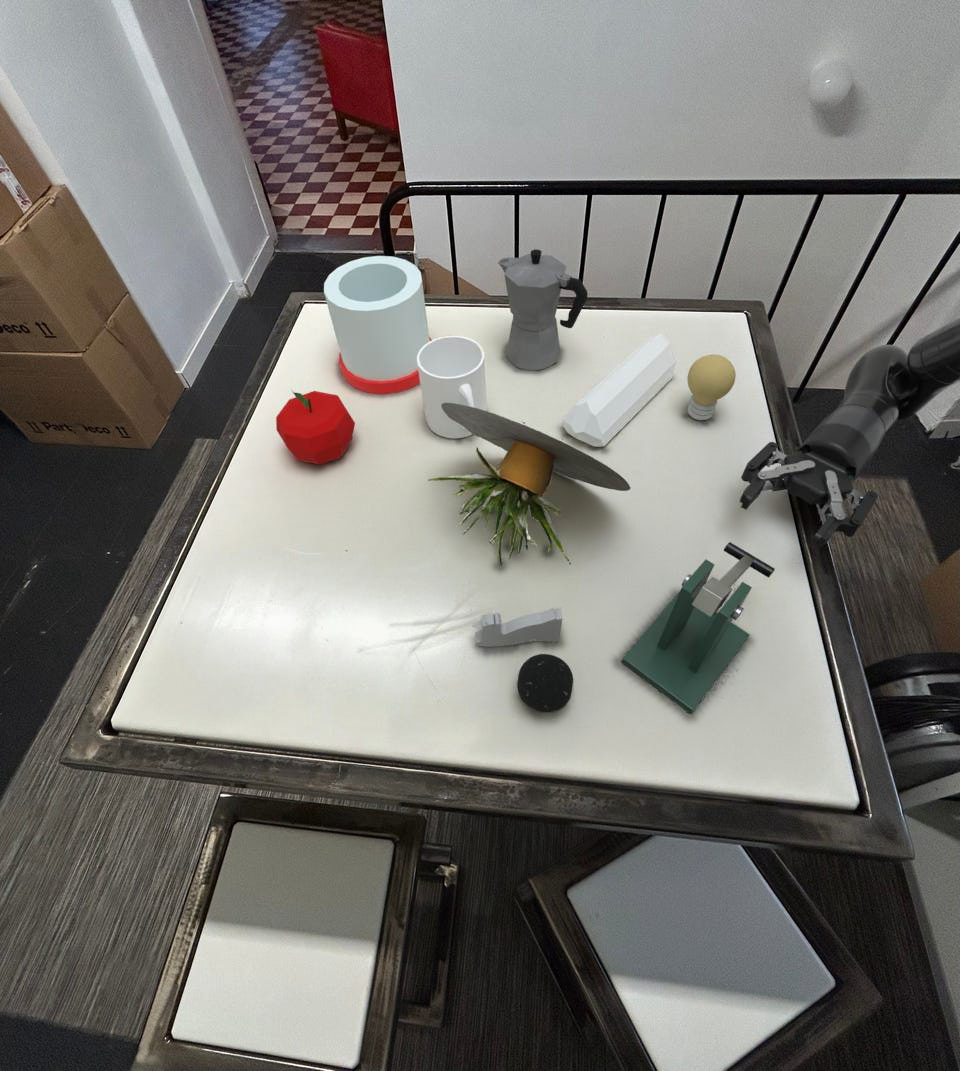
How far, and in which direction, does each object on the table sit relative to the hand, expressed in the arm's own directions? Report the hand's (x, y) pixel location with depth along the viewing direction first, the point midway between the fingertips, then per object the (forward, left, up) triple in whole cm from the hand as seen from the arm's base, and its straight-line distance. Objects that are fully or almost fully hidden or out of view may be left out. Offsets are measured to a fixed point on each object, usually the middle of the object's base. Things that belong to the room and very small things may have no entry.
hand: (778, 523), depth 71 cm
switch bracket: (+3, +17, -7) cm, 19 cm away
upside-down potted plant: (+29, +10, -7) cm, 31 cm away
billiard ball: (+14, +30, -7) cm, 34 cm away
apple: (+61, +14, -7) cm, 63 cm away
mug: (+46, -1, -7) cm, 47 cm away
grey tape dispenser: (+20, +26, -7) cm, 34 cm away
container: (+65, -7, -7) cm, 66 cm away
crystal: (+27, -17, -7) cm, 33 cm away
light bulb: (+16, -21, -7) cm, 27 cm away
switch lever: (+2, +13, +2) cm, 13 cm away
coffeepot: (+44, -21, -7) cm, 49 cm away
